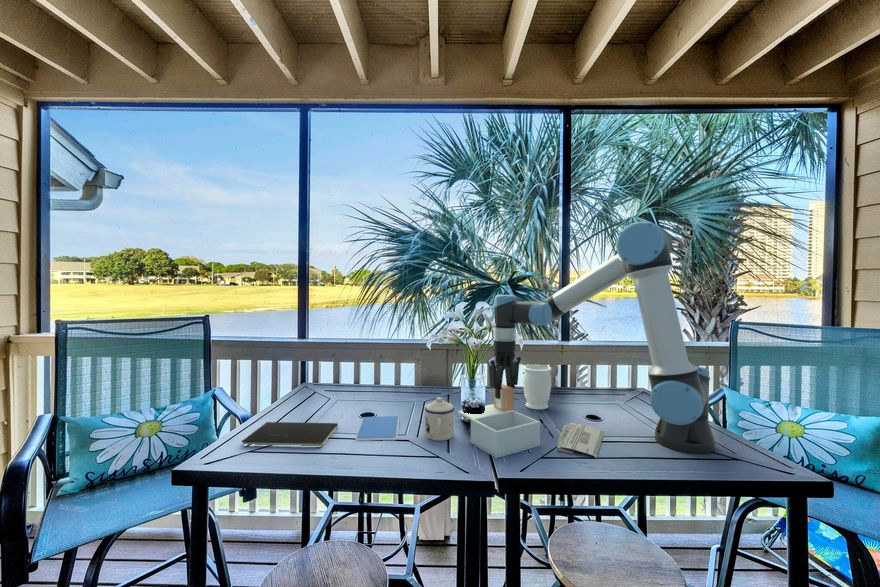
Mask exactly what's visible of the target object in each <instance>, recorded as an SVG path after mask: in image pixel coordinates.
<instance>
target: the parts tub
mask: <svg viewBox="0 0 880 587" xmlns="http://www.w3.org/2000/svg"><path fill="white" fill-rule="evenodd" d="M470 443H471V444H472V445H474V446H475V447H477V448H479V449H480V450H482V451H484V452H486V453H487V454H488V455H490V456H493V458H496V459H499V458H502V457H505V456H509V455H512V454H516V453H519V452H523V451H525V450H530V449H533V448H537V447H540V446H541V421H539V420H537V419H534V418H532V417H530V416H529V415H525V414H523V413H520V412H518V411H516V410H514V411H513V410H511V411H506V412H501V413H497V414H492V415H487V416H483V417H478V418H473V419H471V420H470Z"/></svg>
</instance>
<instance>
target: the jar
mask: <svg viewBox="0 0 880 587" xmlns="http://www.w3.org/2000/svg"><path fill="white" fill-rule="evenodd" d="M522 368H523V370H524V371H523V380H522V381H523V382H522V386H523V391H524V392H523V394H524V397H525V400H526V403H525V406H526V408H528V409H532V410H538V411H540V410H546V409H548V408H549V405H548V402H549V399H550V398H551V391H552V375H551V372H552V367H551V366H548V365H543V364H526V365H524V366H523V367H522Z"/></svg>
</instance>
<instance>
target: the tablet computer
mask: <svg viewBox="0 0 880 587" xmlns="http://www.w3.org/2000/svg"><path fill="white" fill-rule="evenodd" d="M399 425H400V416H397V415H396V416H394V415H391V416H364V417H362V419H361V423H360V425H359V427H358V431H357V432H358V433H357V432H356V435H357V436H356V435H355V438H354V440H355V439H356V440H383V441H397V440H398V434H399ZM396 439H397V440H396Z"/></svg>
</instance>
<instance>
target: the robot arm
mask: <svg viewBox="0 0 880 587" xmlns="http://www.w3.org/2000/svg"><path fill="white" fill-rule="evenodd" d="M672 248H673V241H672V237H671V235H670V234H669V233H668V231H666V230H665V229H664V228H662V227H660V226H659V225H657V224H656V223H653V222H651V221H636V222H633V223H630V224H628V225H626V226H625V227H624V228H623V229H622V230H621V231H620V233H619V234H618V236H617V238H616V241H615V249H616V253H617V254H615V255H614V256H612V257H610V258H609V259H607V260H605V261H604V262H603V263H601V264H600V265H598V266H596V267H594V268H593V269H591V270H590V271H588V272H587V273H585V274H583V275H582V276H580V277H579V278H577V279H576V280H574V281H573V282H570V284H568V285H566V286H565V287H562V288H561V289H559V290H558V291H557V292H555V293H553V294H552V295H551V296H549V297H547V298H546V299H544V300H537V301H521V300H520V301H519V300H517V296H516V295H514V294H497V295H495V297H494V301H493V320H494V319H495V323H496V326H495V327H496V328H495V327H494V326H493V338H494V339H493V351H494V353H493V357H491V359H487V360H486V361H487V365H488V374H489V375H488V376H489V387H490V388H492V389H494V388H495V398H496V407H498V408H501V409H503V389H501V387H502V384H503V379H504V378H503V376H504V372H505V381H506V383H505V384H506V386H509V387H512V388H514V389H515V388H516V386H517V385H518V384H519V373H520V371H519V370H520V363H521V360H522V358H521V357H520V356H517V355H516V353H515V351H516V340H515V339H516V338H517V336H516V335H517V333H516V332H517V331H516V330H517V328H516V327H517V326H516V324H520V325H521V324H522V325H531V326H532V325H533V326H547V325H548V324H550V322H554V321H556V320H558V319H560V318H561V316H562V315H564V314H566V313H567V312H569V311H571V310H573V309H575V308H576V307H578V306H579V305H581V304H582V303H585V302H586V301H588V300H589V299H592V298H594V296H597V295H598V294H600V293H601V292H603V291H605V290H607V289H609V288H610V287H612V286H614V285H615V284H617V283H618V282H620V281H622V280H624V279H626V278H627V277H628V278H630V279H631V280H632V281H633V283H634V288H635V292H636V298H637V301H638V307H639V310H640V315H641V320H642V324H643V328H644V333H645V334H644V335H645V337H646V342H647V346H648V351H649V357H650V359H651V360H650V361H651V365H652V366H651V367H650V368H649V370H648V372H647V373H648V374H647V375H648V378H649V383H650V389H651V391H650V394H649V401H650V402H649V403H650V406H651V409H652V410H653V411H654V413H655V414H656V416H657V417H659V420H658V422H657V425H656V427H655V430H654V440H655V441H656V442H657V443H659V444H660V445H662V446H664V447H666V448H669V449H672V450H675V451H678V452H684V453H690V454H709V453H710V454H711V453H713V452H714V451H715V450H716V440H715V436H714V433H713V430H712V427H711V425H710V421H709V412H710V410H709V407H710V405H709V404H710V403H709V402H710V381H711V377H710V371H709V370H708V368H707V367H701V366H698V365H697V366H696V365H694V364H692V363H691V362H690V361H689V358H688V353H687V349H686V344H685V342H684V341H685V340H684V337H683V331H682V327H681V323H680V319H679V318H680V317H679V315H678V310H677V306H676V303H675V297H674V294H673V290H672V285H671V281H670V276H669V272H670V271H671V270H672V268H673V267H674V265H673V261H672V257H671V252H672ZM514 334H515V335H514Z"/></svg>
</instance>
